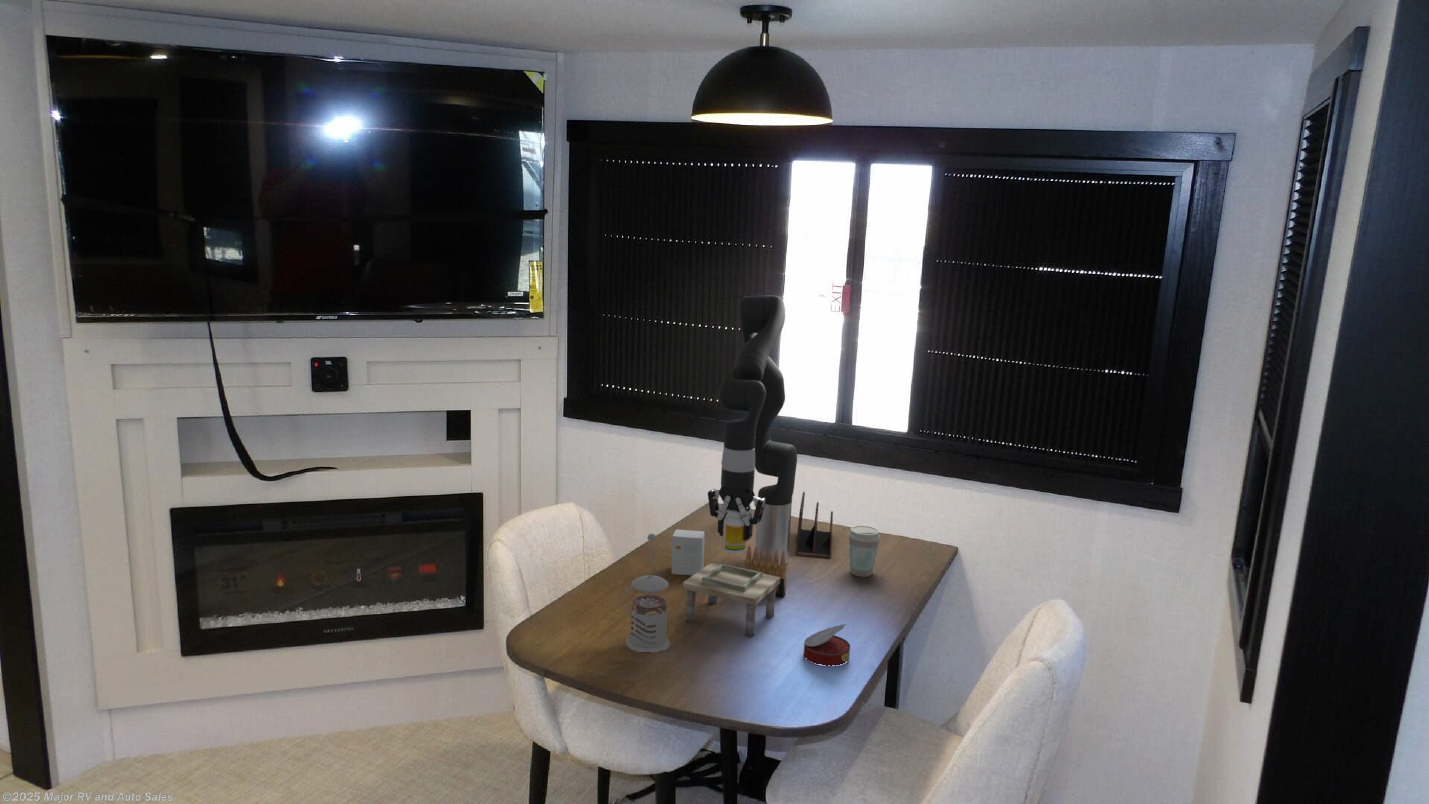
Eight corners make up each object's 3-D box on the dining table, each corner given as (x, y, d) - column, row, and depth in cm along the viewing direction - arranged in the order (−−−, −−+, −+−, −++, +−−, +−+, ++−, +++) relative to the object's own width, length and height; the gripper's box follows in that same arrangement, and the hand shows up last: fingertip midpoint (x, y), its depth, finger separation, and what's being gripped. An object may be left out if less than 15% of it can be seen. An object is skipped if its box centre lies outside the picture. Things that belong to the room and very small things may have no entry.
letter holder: (795, 556, 269) (798, 507, 266) (798, 533, 288) (801, 487, 285) (831, 559, 267) (834, 510, 265) (832, 536, 287) (835, 490, 284)
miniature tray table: (709, 599, 236) (711, 557, 233) (777, 615, 228) (780, 572, 226) (681, 621, 222) (683, 577, 220) (752, 639, 215) (755, 594, 213)
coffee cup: (841, 575, 255) (844, 532, 253) (849, 565, 263) (852, 523, 261) (873, 581, 252) (876, 537, 250) (880, 570, 260) (884, 528, 258)
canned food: (824, 688, 204) (809, 654, 200) (801, 662, 213) (787, 629, 208) (867, 659, 207) (854, 625, 202) (843, 635, 215) (830, 602, 211)
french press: (653, 657, 204) (657, 545, 199) (609, 642, 210) (612, 533, 205) (679, 641, 212) (683, 532, 207) (636, 627, 218) (640, 521, 213)
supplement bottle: (718, 547, 223) (720, 507, 221) (738, 544, 225) (741, 505, 224) (728, 554, 218) (730, 514, 216) (749, 552, 221) (751, 512, 219)
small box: (703, 569, 255) (705, 531, 253) (701, 576, 250) (703, 538, 248) (673, 566, 256) (675, 528, 254) (670, 574, 251) (672, 535, 249)
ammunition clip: (785, 595, 240) (788, 550, 238) (783, 598, 238) (786, 552, 236) (744, 589, 243) (746, 543, 241) (742, 591, 241) (744, 546, 239)
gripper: (773, 467, 218) (769, 538, 222) (716, 458, 224) (713, 527, 228) (761, 475, 212) (756, 548, 215) (702, 465, 218) (699, 536, 221)
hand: (734, 537), depth 221 cm, fingers closed on supplement bottle, 5 cm apart
